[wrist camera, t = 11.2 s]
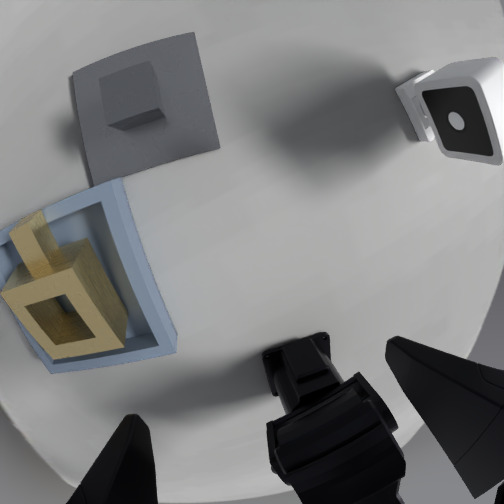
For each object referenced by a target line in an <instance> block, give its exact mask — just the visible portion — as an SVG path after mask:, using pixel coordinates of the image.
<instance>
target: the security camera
mask: <svg viewBox="0 0 504 504" xmlns="http://www.w3.org/2000/svg"><path fill="white" fill-rule="evenodd" d="M395 90H396V93H397V95H398V96H399V98H400V100H401V102H402V104H403V106H404V108H405V110H406V112H407V114H408V116H409V118H410V120H411V122H412V125H413V127H414V129H415V131H416V133H417V136H418V138H419V140H420V141H427V142H431V141H432V140H433V139H434V138H436V141H437V143H438V146H439V148H440V150H441V152H442V153H443V154H444V155H445V156H447V157H450V158H457V159H464V160H470V161H476V162H482V163H487V164H492V165H501V164H502V162H503V161H504V63H503V62H502V61H501V60H500V59H498V58H496V57H491V58H482V59H474V60H467V61H460V62H454V63H450V64H448V65H446V66H445V67H443V68H441V69H439V70H438V71H436V72H434V71H433V70H430V71H425V72H422V73H421V74H419V75H417V76H415V77H413V78H412V79H410V80H408V81H407V82H405V83H403V84H401V85H400V86H398V87H396V89H395Z"/></svg>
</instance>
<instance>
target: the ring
mask: <svg viewBox="0 0 504 504" xmlns="http://www.w3.org/2000/svg"><path fill="white" fill-rule="evenodd" d="M9 235H10V237H11V239H12V241H13V243H14V245H15V247H16V249H17V251H18V252H19V254H20V256H21V258H22V260H23V261H24V262H22V263H19V264H18V265H17V267H16V268H15V270H14V272H13V273H12V275H11V276H10V278H9V279H8V281H7V283H6V284H5V286H4V288H3V289H2V291H1V293H0V294H1V295H2V297H3V298H4V300H5V301H6V303H7V304H8V305H9V307H10V308H11V309H12V311H13V312H14V314H15V315H16V316H17V317H18V319H19V320H20V321H21V323H22V324H23V325H24V326H25V328H26V329H27V330H28V331H29V333H30V334H31V335H32V336H33V337H34V339H35V340H36V341H37V342H38V343H39V344H40V345H41V347H42V348H43V349H44V350H45V351H46V352H47V353H48V354H49V355H50V356H51V357H52V359H53V360H55V359H62V358H68V357H74V356H80V355H86V354H92V353H97V352H103V351H108V350H113V349H118V348H123V347H125V339H126V329H127V321H128V313H129V312H128V311H127V309H126V308H125V306H124V304H123V303H122V301H121V299H120V298H119V296H118V294H117V292H116V291H115V289H114V287H113V285H112V284H111V282H110V280H109V278H108V276H107V275H106V273H105V271H104V269H103V267H102V265H101V263H100V262H99V260H98V258H97V256H96V254H95V252H94V250H93V248H92V246H91V244H90V242H89V239H88V237H86V238H83V239H80V240H77V241H75V242H72V243H69V244H67V245H64V246H61V247H59V246H58V244H57V242H56V240H55V238H54V236H53V234H52V232H51V230H50V228H49V226H48V224H47V222H46V219H45V217H44V215H43V213H42V210H41V209H40V210H38V211H36V212H34V213H32V214H30V215H28V216H26V217H24V218H22V219H21V220H20V221H19V222H18V223H17V224H16V225H15V226H14V228H13V229H12V230H11V231H10V232H9ZM63 294H66V296H67V297H68V299H69V300H70V302H71V303H72V305H73V306H74V308H75V309H76V310H75V311H71V312H67V313H65V311H64V310H63V309H62V307H61V306H60V304H59V303H58V301H57V300H56V299H55V297H56V296H60V295H63Z"/></svg>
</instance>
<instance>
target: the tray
mask: <svg viewBox="0 0 504 504" xmlns="http://www.w3.org/2000/svg"><path fill="white" fill-rule="evenodd" d="M42 213H43V215H44V217H45V219H46V222H47V224H48V226H49V228H50V230H51V232H52V234H53V236H54V238H55V240H56V242H57V244H58V246H59V247H61V246H64V245H67V244H69V243H72V242H75V241H77V240H80V239H83V238H86V237H88V239H89V242H90V244H91V246H92V248H93V250H94V252H95V254H96V256H97V258H98V260H99V262H100V263H101V265H102V267H103V269H104V271H105V273H106V275H107V276H108V278H109V280H110V282H111V284H112V285H113V287H114V289H115V291H116V292H117V294H118V296H119V298H120V299H121V301H122V303H123V304H124V306H125V308H126V309H127V311H128V312H129V313H128V321H127V329H126V339H125V347H123V348H118V349H113V350H108V351H103V352H97V353H92V354H86V355H80V356H74V357H68V358H62V359H55V360H53V359H52V357H51V356H50V355H49V354H48V353H47V352H46V351H45V350H44V349H43V348H42V347H41V345H40V344H39V343H38V342H37V341H36V340H35V339H34V337H33V336H32V335H31V334H30V333H29V331H28V330H27V329H26V328H25V326H24V325H23V324H22V323H21V321H20V320H19V319H18V317H17V316H16V315H15V314H14V312H13V311H12V309H11V308H10V309H11V311H12V313H13V315H14V316H15V318H16V320H17V322H18V324H19V325H20V327H21V329H22V331H23V332H24V334H25V336H26V337H27V339H28V341H29V342H30V344H31V345H32V347H33V349H34V350H35V352H36V353H37V355H38V356H39V358H40V359H41V361H42V362H43V364H44V365H45V366H46V368H47V369H48V371H49V372H50V373H51V374H54V373H63V372H71V371H79V370H86V369H93V368H100V367H106V366H112V365H118V364H124V363H129V362H135V361H140V360H145V359H150V358H155V357H160V356H164V355H169V354H173V353H176V351H177V332H176V330H175V328H174V325H173V323H172V321H171V318H170V316H169V314H168V311H167V309H166V307H165V304H164V302H163V299H162V297H161V294H160V292H159V289H158V287H157V284H156V282H155V279H154V277H153V274H152V271H151V269H150V266H149V263H148V260H147V258H146V255H145V252H144V249H143V246H142V243H141V240H140V237H139V234H138V231H137V228H136V225H135V222H134V219H133V216H132V213H131V209H130V206H129V203H128V199H127V196H126V192H125V189H124V185H123V182H122V178H121V177H120V178H117V179H114V180H111V181H108V182H105V183H103V184H100V185H97V186H95V187H92V188H90V189H87V190H85V191H82V192H80V193H77V194H75V195H73V196H70V197H68V198H66V199H63V200H61V201H59V202H57V203H54V204H52V205H50V206H48V207H46V208H44V209H42ZM18 222H19V221H18ZM18 222H16V223H14V224H12V225H10V226H8V227H6V228H5V229H3V230H1V231H0V288H1V291H2V289H3V288H4V286H5V284H6V283H7V281H8V279H9V278H10V276H11V275H12V273H13V272H14V270H15V268H16V267H17V265H18V264H19V263H22V262H24V261H23V260H22V258H21V256H20V254H19V252H18V251H17V249H16V247H15V245H14V243H13V241H12V239H11V237H10V235H9V232H10V231H11V230H12V229H13V228H14V226H15V225H16V224H17V223H18ZM55 299H56V300H57V301H58V303H59V304H60V306H61V307H62V309H63V310H64V311H65V313H67V312H71V311H75V310H76V309H75V308H74V306H73V305H72V303H71V302H70V300H69V299H68V297H67V296H66V294H63V295H60V296H56V297H55Z"/></svg>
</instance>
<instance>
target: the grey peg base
mask: <svg viewBox="0 0 504 504" xmlns="http://www.w3.org/2000/svg"><path fill="white" fill-rule="evenodd" d="M73 81H74V89H75V97H76V104H77V110H78V116H79V122H80V127H81V132H82V137H83V142H84V147H85V151H86V156H87V160H88V164H89V168H90V172H91V176H92V180H93V184H94V187H95V186H97V185H100V184H103V183H105V182H108V181H111V180H114V179H117V178H120V177H123V176H126V175H129V174H132V173H135V172H138V171H141V170H144V169H147V168H150V167H153V166H157V165H160V164H163V163H166V162H170V161H173V160H177V159H180V158H184V157H188V156H191V155H195V154H199V153H203V152H207V151H211V150H215V149H219V148H220V144H219V139H218V135H217V131H216V126H215V122H214V118H213V113H212V109H211V104H210V100H209V96H208V91H207V87H206V82H205V78H204V74H203V69H202V65H201V60H200V56H199V51H198V47H197V42H196V38H195V33H194V32H191V33H186V34H181V35H177V36H173V37H169V38H165V39H161V40H157V41H154V42H150V43H147V44H144V45H141V46H137V47H134V48H131V49H128V50H125V51H123V52H120V53H117V54H114V55H112V56H109V57H107V58H104V59H102V60H99V61H97V62H95V63H92V64H90V65H88V66H85V67H83V68H81V69H79V70H77V71H75V72H73Z"/></svg>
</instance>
